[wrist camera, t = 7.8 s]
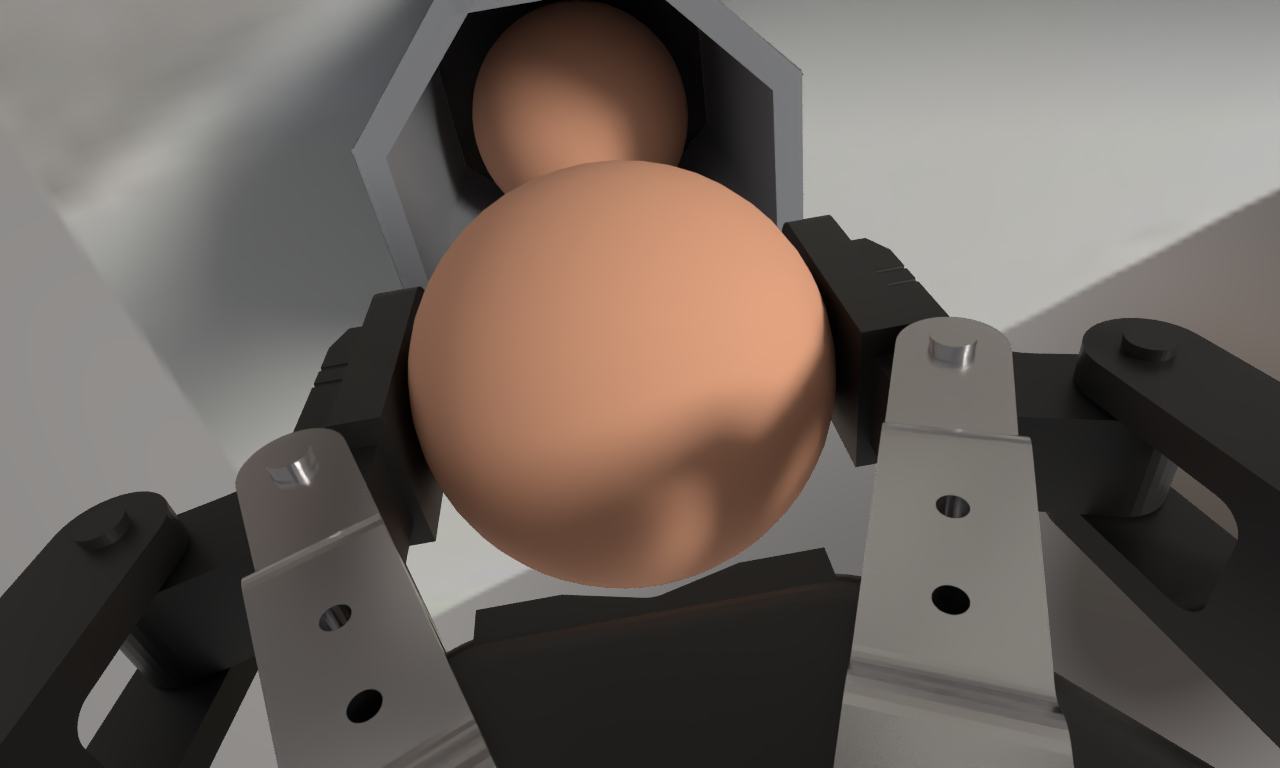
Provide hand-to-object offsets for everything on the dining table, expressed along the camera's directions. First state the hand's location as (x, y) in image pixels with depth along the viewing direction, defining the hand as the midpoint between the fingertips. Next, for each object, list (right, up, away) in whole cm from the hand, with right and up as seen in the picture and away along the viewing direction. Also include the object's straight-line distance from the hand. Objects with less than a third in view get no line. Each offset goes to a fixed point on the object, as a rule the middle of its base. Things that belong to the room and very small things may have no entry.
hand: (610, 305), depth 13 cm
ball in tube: (-1, +6, +9) cm, 11 cm away
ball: (0, -1, -2) cm, 2 cm away
